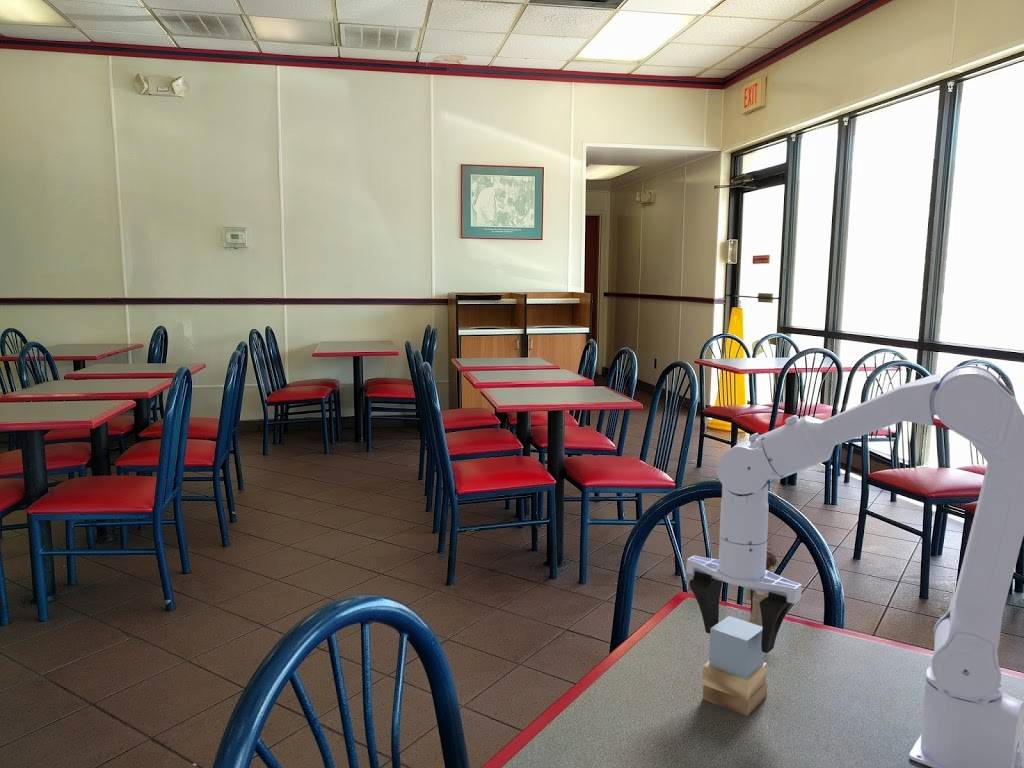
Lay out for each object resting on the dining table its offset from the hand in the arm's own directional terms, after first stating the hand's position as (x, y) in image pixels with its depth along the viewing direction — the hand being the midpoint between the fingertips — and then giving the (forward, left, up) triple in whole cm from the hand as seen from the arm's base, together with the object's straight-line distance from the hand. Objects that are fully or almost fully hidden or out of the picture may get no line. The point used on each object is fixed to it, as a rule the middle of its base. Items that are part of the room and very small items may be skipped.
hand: (738, 639), depth 95 cm
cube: (0, 0, -3) cm, 3 cm away
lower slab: (0, 0, -8) cm, 8 cm away
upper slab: (0, 0, -6) cm, 6 cm away
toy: (+6, -21, -8) cm, 23 cm away
